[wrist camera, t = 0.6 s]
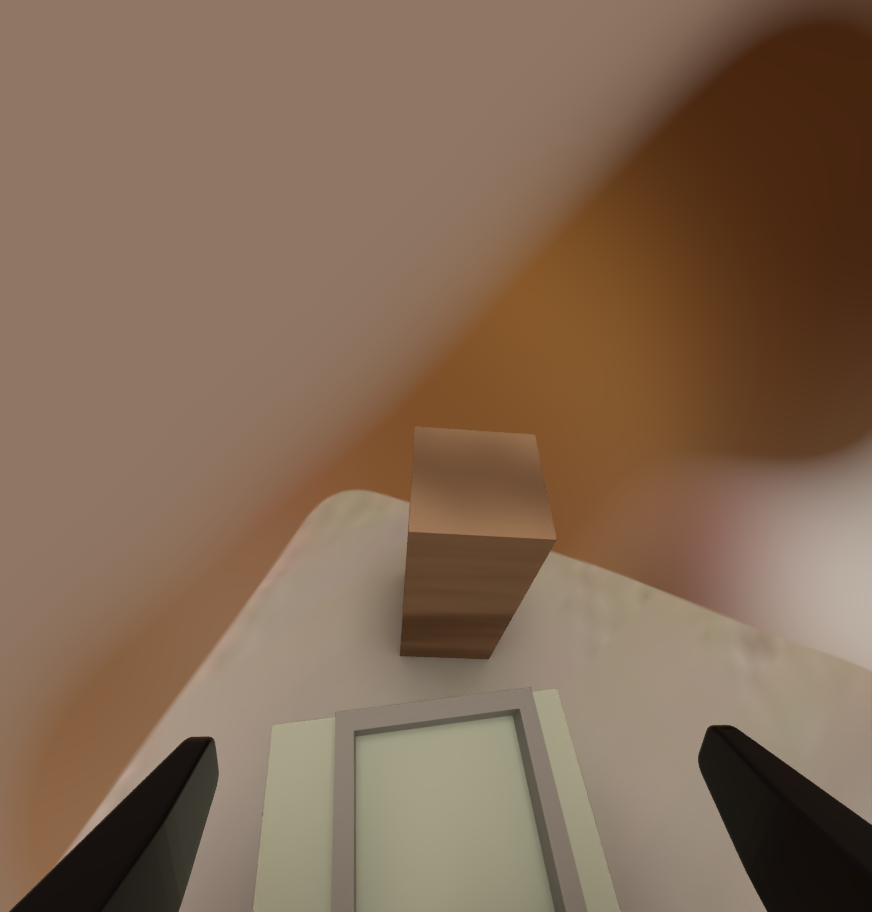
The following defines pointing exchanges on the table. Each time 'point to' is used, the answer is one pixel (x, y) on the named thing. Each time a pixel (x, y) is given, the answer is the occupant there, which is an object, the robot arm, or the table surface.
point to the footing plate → (431, 811)
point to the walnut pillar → (471, 539)
